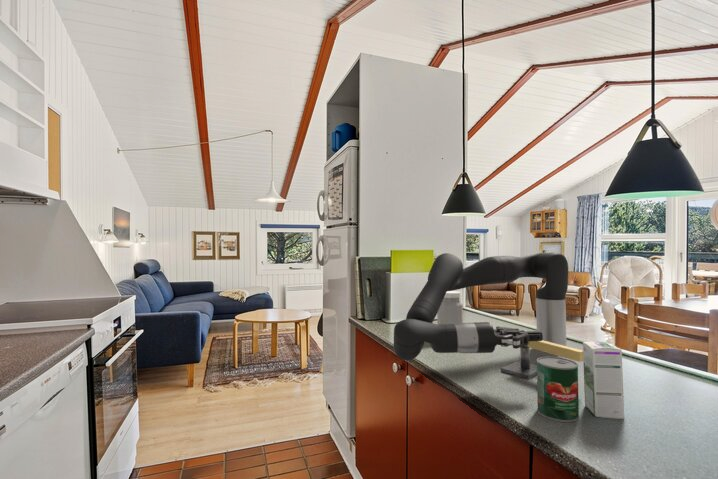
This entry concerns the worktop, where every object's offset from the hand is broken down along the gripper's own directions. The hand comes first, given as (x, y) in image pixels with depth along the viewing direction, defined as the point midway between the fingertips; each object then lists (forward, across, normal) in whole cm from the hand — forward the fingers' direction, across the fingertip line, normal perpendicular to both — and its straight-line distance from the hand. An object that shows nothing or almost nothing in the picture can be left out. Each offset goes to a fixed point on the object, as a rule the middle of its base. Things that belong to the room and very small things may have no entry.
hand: (541, 335), depth 93 cm
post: (+1, +13, +13) cm, 19 cm away
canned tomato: (-4, -14, +13) cm, 20 cm away
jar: (-11, +52, +14) cm, 55 cm away
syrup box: (+6, -14, +13) cm, 20 cm away
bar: (+5, +6, +6) cm, 10 cm away
